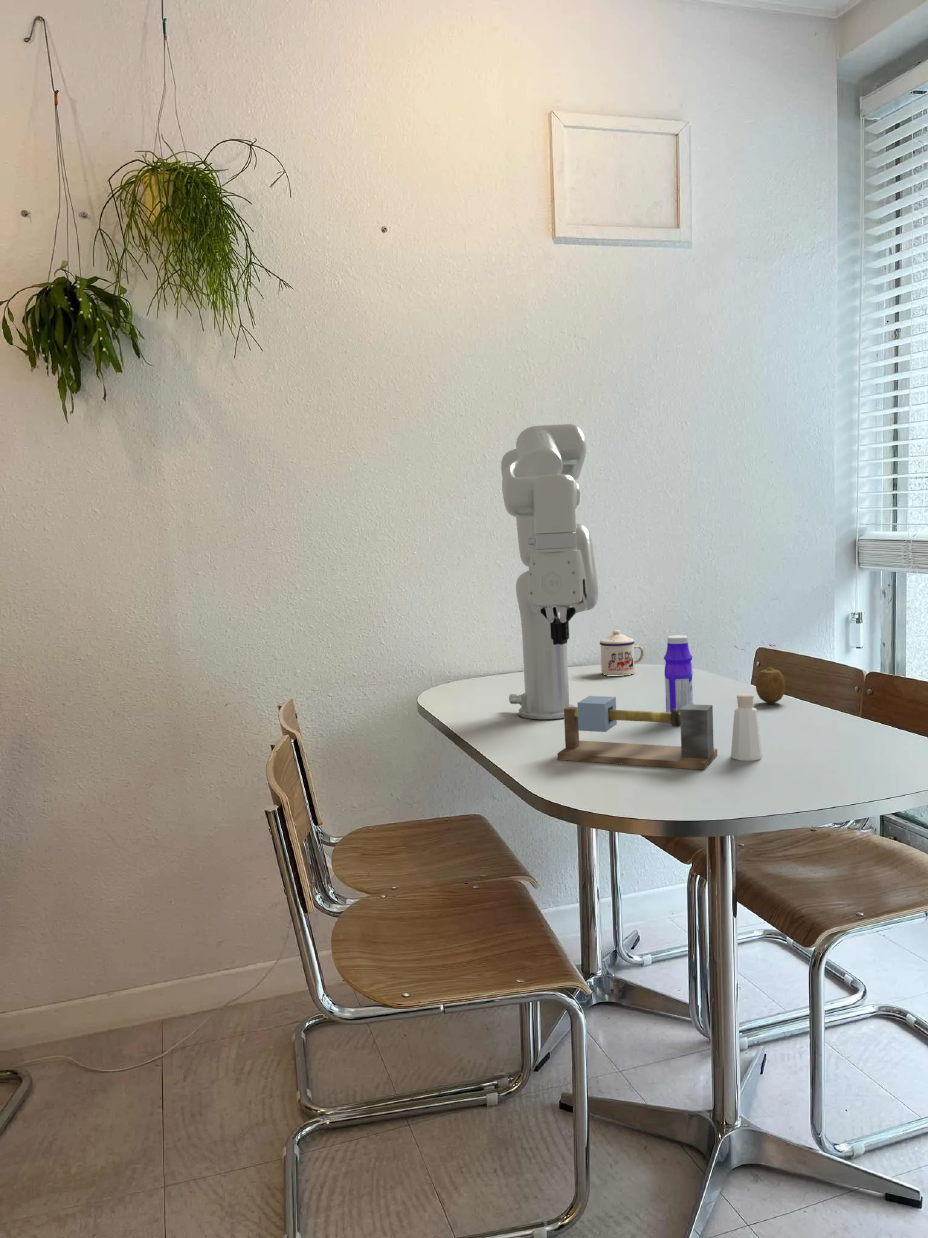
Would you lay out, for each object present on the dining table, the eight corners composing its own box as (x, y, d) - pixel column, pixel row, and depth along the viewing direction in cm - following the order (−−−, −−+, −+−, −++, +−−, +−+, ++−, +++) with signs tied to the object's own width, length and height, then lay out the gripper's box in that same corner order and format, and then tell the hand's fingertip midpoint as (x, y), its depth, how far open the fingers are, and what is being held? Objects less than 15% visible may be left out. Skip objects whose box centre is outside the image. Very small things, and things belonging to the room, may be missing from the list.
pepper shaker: (727, 754, 171) (725, 692, 170) (758, 752, 171) (756, 691, 170) (734, 762, 166) (733, 698, 165) (766, 760, 166) (765, 696, 165)
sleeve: (578, 730, 173) (577, 702, 172) (590, 722, 179) (589, 695, 178) (605, 732, 171) (604, 703, 170) (616, 724, 176) (615, 696, 176)
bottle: (694, 724, 196) (692, 638, 194) (665, 724, 197) (663, 638, 195) (693, 716, 203) (691, 633, 201) (665, 716, 204) (663, 634, 202)
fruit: (782, 700, 214) (781, 664, 213) (788, 706, 208) (788, 668, 207) (753, 701, 215) (752, 665, 214) (758, 706, 209) (758, 670, 208)
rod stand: (557, 759, 174) (555, 707, 172) (576, 746, 182) (574, 696, 181) (704, 770, 162) (703, 713, 161) (717, 755, 171) (715, 702, 170)
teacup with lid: (607, 678, 253) (605, 633, 252) (596, 673, 262) (594, 630, 260) (651, 674, 255) (649, 630, 254) (638, 669, 264) (637, 626, 263)
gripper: (509, 545, 177) (514, 646, 178) (588, 542, 170) (592, 646, 172) (525, 544, 183) (530, 640, 185) (602, 540, 177) (606, 641, 178)
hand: (560, 643), depth 178 cm, fingers closed
